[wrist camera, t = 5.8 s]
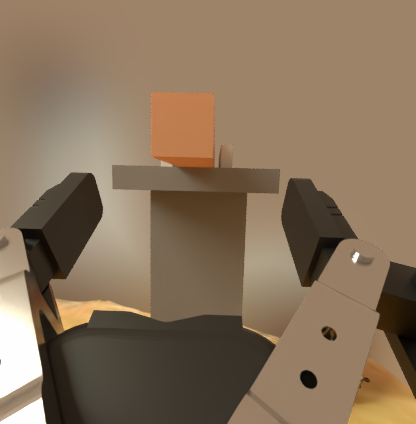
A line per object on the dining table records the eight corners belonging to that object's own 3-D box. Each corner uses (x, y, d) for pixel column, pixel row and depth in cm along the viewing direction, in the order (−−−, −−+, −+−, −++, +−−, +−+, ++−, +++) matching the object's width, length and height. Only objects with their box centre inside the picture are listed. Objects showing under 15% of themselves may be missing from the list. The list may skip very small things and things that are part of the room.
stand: (97, 493, 26) (87, 140, 22) (144, 369, 42) (143, 158, 38) (281, 503, 25) (305, 145, 21) (254, 374, 42) (265, 161, 38)
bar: (212, 158, 13) (214, 93, 12) (151, 156, 13) (151, 92, 12) (214, 172, 34) (214, 149, 34) (191, 172, 35) (191, 149, 34)
